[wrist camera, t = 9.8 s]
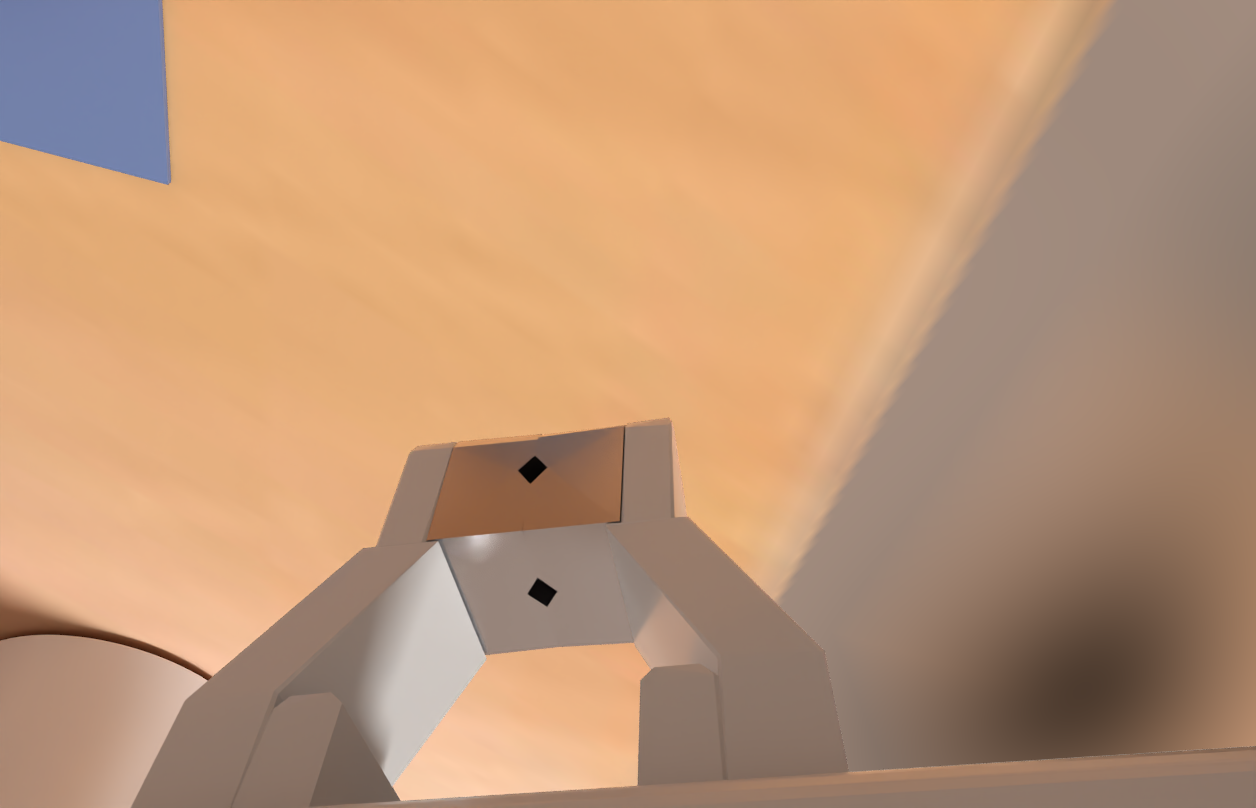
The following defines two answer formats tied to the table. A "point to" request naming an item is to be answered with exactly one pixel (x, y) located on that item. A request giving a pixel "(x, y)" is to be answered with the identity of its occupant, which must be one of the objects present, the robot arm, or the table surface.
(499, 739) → the table surface
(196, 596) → the table surface
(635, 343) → the table surface
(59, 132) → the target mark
